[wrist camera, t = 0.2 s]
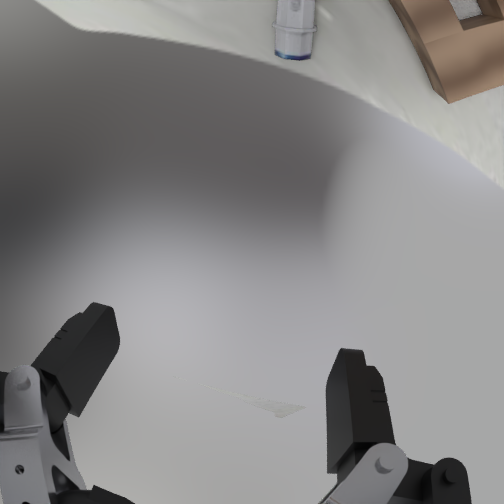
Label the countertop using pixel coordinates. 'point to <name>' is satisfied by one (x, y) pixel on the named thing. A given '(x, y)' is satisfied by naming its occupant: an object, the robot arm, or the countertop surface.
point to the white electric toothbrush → (294, 29)
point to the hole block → (456, 45)
